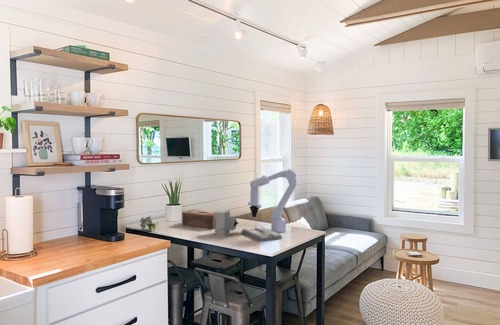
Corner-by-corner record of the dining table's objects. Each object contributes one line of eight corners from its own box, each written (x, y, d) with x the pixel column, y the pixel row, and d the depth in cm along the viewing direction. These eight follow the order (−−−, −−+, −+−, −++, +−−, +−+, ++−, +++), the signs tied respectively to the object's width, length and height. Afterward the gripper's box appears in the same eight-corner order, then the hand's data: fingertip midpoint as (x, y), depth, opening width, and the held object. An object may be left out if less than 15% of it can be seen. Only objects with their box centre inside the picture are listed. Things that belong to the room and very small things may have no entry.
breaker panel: (261, 230, 266) (262, 226, 266) (281, 238, 245) (281, 233, 245) (241, 233, 258) (241, 228, 258) (260, 241, 237) (260, 236, 237)
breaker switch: (267, 234, 248) (267, 228, 248) (270, 235, 245) (270, 229, 245) (263, 234, 246) (263, 229, 246) (266, 235, 243) (266, 230, 243)
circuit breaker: (235, 236, 250) (236, 213, 249) (214, 234, 253) (215, 212, 252) (238, 233, 257) (238, 211, 256) (218, 232, 260) (218, 210, 259)
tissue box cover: (223, 226, 281) (223, 212, 280) (213, 230, 268) (213, 215, 267) (193, 222, 292) (193, 209, 291) (182, 226, 279) (182, 212, 278)
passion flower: (142, 238, 263) (136, 222, 266) (157, 233, 269) (150, 218, 273) (146, 232, 254) (139, 216, 258) (161, 226, 261) (154, 211, 264)
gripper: (244, 196, 271) (244, 215, 271) (254, 199, 258) (254, 219, 259) (253, 195, 274) (252, 214, 275) (263, 198, 262) (263, 218, 262)
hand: (254, 216), depth 267 cm, fingers closed
